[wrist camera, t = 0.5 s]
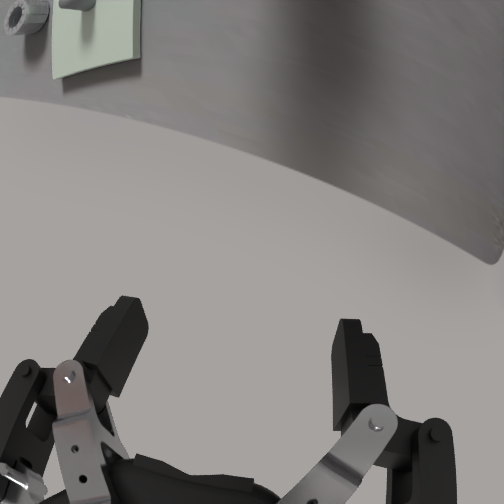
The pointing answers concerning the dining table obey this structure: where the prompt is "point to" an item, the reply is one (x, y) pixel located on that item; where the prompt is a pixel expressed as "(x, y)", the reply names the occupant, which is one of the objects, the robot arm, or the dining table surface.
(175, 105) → the dining table surface
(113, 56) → the post base
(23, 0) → the cylinder
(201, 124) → the dining table surface
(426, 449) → the robot arm
